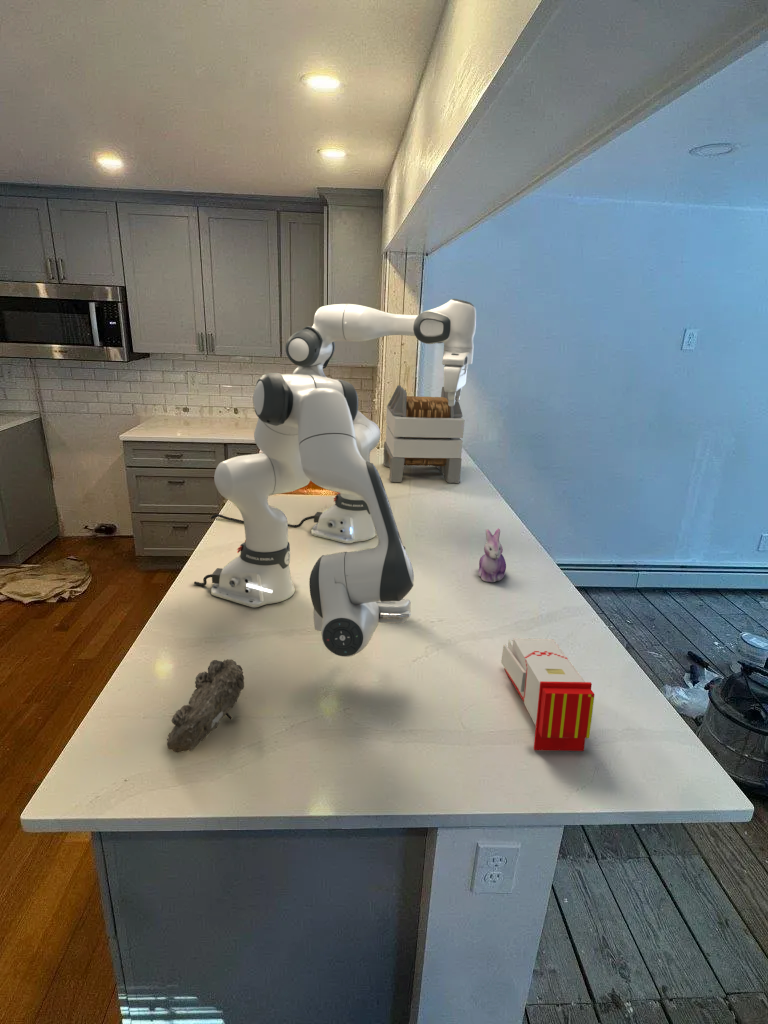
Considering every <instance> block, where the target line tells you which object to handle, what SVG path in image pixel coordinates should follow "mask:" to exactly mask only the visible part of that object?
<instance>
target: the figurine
mask: <svg viewBox="0 0 768 1024" xmlns="http://www.w3.org/2000/svg"><path fill="white" fill-rule="evenodd" d="M500 537H501V528H499V527H498V528H497V529H496V530H495V532H494V534H492V532H491V531H490V530H489V528H488V529H485V539H486V543H485V544H484V546H483V551H484V554H482V555H481V556H480V558H479V562H478V570H477V575H478V577H480V579H481V580H482V581H484V582H487V583H495V582H499V581H501V580H503V578H504V577H505V574H506V571H507V563H506V559H505V557H504V556H503V552H504V548H503V545H502V543H501V541H500Z"/></svg>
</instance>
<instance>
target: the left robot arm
mask: <svg viewBox="0 0 768 1024" xmlns="http://www.w3.org/2000/svg"><path fill="white" fill-rule="evenodd" d="M326 377H327V376H326ZM326 377H322V376H316V375H301V374H292V373H284V374H283V373H282V374H281V372H269V373H264V374H263V375H261V376H260V377H259V378H258V380H256V383H255V387H254V389H253V390H254V391H253V395H252V402H253V403H252V404H253V407H254V408H253V409H254V413H255V415H256V417H257V422H256V425H255V428H254V431H253V438H254V442H255V445H256V446H257V448H258V450H259V451H261V452H260V453H251V454H244V455H237V456H233V457H230V458H228V459H225V460H223V461H220V462H219V463H218V464H217V466H216V468H215V471H214V474H213V475H214V476H213V477H214V480H213V481H214V486H215V488H216V490H217V493H219V494H220V496H222V497H223V498H224V499H225V500H227V501H229V502H231V503H232V504H233V505H234V506H235V507H236V508H237V509H238V511H239V513H240V514H241V516H242V520H243V521H244V523H243V525H244V526H243V527H244V537H245V539H244V542H242V543H241V544H240V546H239V547H238V548H237V549H236V553H237V554H239V553H240V554H239V555H238V556H236V557H235V558H233V559H232V560H231V561H229V562H228V563H227V564H225V565H224V566H223V567H220V568H219V567H218V568H216V569H215V570H214V571H213V572H212V573H210V574H207V575H205V576H204V577H203V581H202V582H198V581H194V582H193V585H196V586H199V587H205V586H206V585H207V583H208V581H207V580H208V579H210V578H211V584H213V585H212V586H211V587H210V588H211V589H210V594H211V596H213V597H216V598H220V599H223V600H227V601H229V602H233V603H237V604H239V605H244V606H247V607H250V608H259V607H262V606H265V605H272V604H277V603H280V602H283V601H287V600H288V599H289V598H290V599H291V597H292V596H293V595H294V594H295V592H296V589H295V584H294V583H293V579H292V574H291V567H290V563H291V547H290V546H291V545H290V542H289V526H288V524H289V520H288V517H287V515H286V513H285V512H284V511H283V510H282V509H280V508H278V507H275V506H273V505H269V499H268V498H269V497H270V496H275V495H281V494H286V493H292V492H295V491H297V490H299V489H302V488H304V487H306V486H308V485H309V484H310V482H312V483H313V484H315V485H316V486H318V487H320V488H322V489H325V490H328V491H331V492H335V493H338V492H339V493H344V494H349V495H353V496H356V497H358V498H360V499H362V500H363V501H365V503H366V504H367V506H368V508H369V511H370V515H371V518H372V521H373V524H374V528H375V532H376V538H377V540H378V544H377V546H375V547H372V548H371V547H370V548H365V549H359V550H353V551H342V552H334V553H329V554H322V555H321V556H320V557H319V558H318V559H317V561H316V562H315V563H314V565H313V567H312V569H311V572H310V573H309V574H310V575H309V581H308V585H309V586H308V587H309V593H310V594H309V595H310V600H311V604H312V606H313V625H314V630H315V631H317V632H320V633H321V640H322V643H323V645H324V647H325V648H326V649H327V650H328V651H329V652H330V653H332V654H333V655H336V656H338V657H343V658H345V657H346V658H347V657H352V656H355V655H357V654H359V653H361V652H362V651H363V650H364V649H365V648H366V647H367V646H368V644H369V643H370V642H371V640H372V637H373V635H374V633H375V631H376V630H377V627H378V625H379V624H403V623H405V622H407V621H408V620H409V619H410V617H411V615H412V611H411V610H412V601H411V600H410V599H408V598H405V597H406V596H407V595H408V594H409V593H410V592H411V590H412V589H413V587H414V582H415V573H414V572H415V571H414V567H413V564H412V561H411V558H410V556H409V555H408V552H407V551H406V548H405V549H404V547H405V546H404V544H403V541H402V538H401V535H400V532H399V529H398V525H397V523H396V520H395V517H394V513H393V510H392V507H391V503H390V500H389V498H388V495H387V492H386V488H385V486H384V483H383V480H382V478H381V475H380V473H379V471H378V469H377V467H376V465H374V463H373V462H371V461H370V462H367V461H365V460H364V459H363V457H362V456H361V454H360V453H359V450H358V448H357V443H356V436H355V430H354V424H353V421H354V419H355V418H356V415H357V411H359V395H358V392H357V390H356V388H355V386H354V385H353V384H352V383H351V382H348V381H346V380H343V379H340V378H335V379H334V378H330V377H327V378H326ZM403 546H404V547H403Z"/></svg>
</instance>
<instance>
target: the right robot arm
mask: <svg viewBox="0 0 768 1024" xmlns="http://www.w3.org/2000/svg"><path fill="white" fill-rule="evenodd" d="M476 327H477V309H476V306H475V305H474V304H473V303H472V302H470V301H467V300H463V299H458V298H451V299H450V300H448V301H447V302H445V303H444V304H441V305H439V306H437V307H435V308H431V309H427V310H424V311H422V312H421V313H419V314H399V313H391V312H386V311H383V310H380V309H377V308H374V307H370V306H366V305H361V304H355V303H335V304H327V305H322V306H320V307H318V308H317V309H316V311H315V313H314V317H313V325H312V326H310V325H306V326H305V327H303V328H301V329H299V330H298V331H295V333H293V334H292V335H291V336H290V337H289V338H288V339H287V340H286V344H285V354H286V357H287V359H289V361H290V362H292V364H294V365H296V366H297V367H295V369H294V370H293V371H292V373H291V374H301V375H316V376H322V377H326V378H328V377H327V376H326V374H325V372H324V369H326V368H327V366H328V365H329V362H330V360H331V359H332V357H333V356H334V352H335V350H336V343H335V342H353V343H356V342H366V341H371V340H376V339H378V338H384V337H388V336H409V337H415V338H416V339H417V340H418V341H420V343H423V344H426V345H434V344H435V345H436V344H443V354H442V362H441V364H442V365H443V387H444V390H445V392H448V400H449V401H448V405H449V406H454V405H455V402H460V400H461V393H462V390H463V388H464V387H465V386H466V383H467V373H468V368H469V365H473V360H474V359H473V358H474V347H475V345H474V337H475V334H476ZM353 424H354V430H355V436H356V443H357V448H358V450H359V453H360V454H361V456H362V457H363V459H364V460H365V461H367V462H370V463H371V460H370V459H371V457H370V455H371V452H372V451H373V450H374V449H376V448H377V446H378V445H379V442H380V439H381V436H382V435H381V429H380V427H379V425H378V424H377V423H376V422H375V421H373V420H371V419H369V418H368V417H366V415H364V414H363V413H362V412H361V411H360V410H358V411H357V415H356V418H355V419H354V421H353ZM333 502H334V504H333V505H331V506H329V507H328V508H326V509H325V510H323V512H322V511H316V512H315V514H314V515H310V516H307V517H304V518H303V519H302V520H300V522H299V523H298V524H290V523H288V528H289V527H290V528H293V529H294V528H300V527H302V526H303V524H304V523H305V522H307V521H308V520H312V519H313V523H315V524H314V525H313V526H312V528H311V530H310V533H311V536H315V537H319V538H323V539H326V540H330V541H336V542H339V543H343V544H352V543H357V542H365V541H368V540H372V539H373V538H375V537H376V536H377V534H376V531H375V528H374V524H373V521H372V518H371V515H370V511H369V508H368V506H367V504H366V503H365V501H363V500H362V499H360V498H358V497H356V496H353V495H349V494H344V493H339V492H337V494H336V495H335V496H334V497H333ZM215 518H221V519H224V520H227V521H232V522H236V523H240V524H244V520H243V519H238V518H235V517H234V518H233V517H230V516H226V515H223V514H220V513H215V514H213V515H211V516H210V520H211V519H212V520H213V519H215Z"/></svg>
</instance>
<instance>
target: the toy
mask: <svg viewBox="0 0 768 1024" xmlns="http://www.w3.org/2000/svg"><path fill="white" fill-rule="evenodd" d="M500 661H501V662H500V663H501V664H502V666H503V668H504V671H505V673H506V674H507V676H508V678H509V679H510V681H511V684H512V685H513V686H514V688H515V691H517V693H518V695H519V696H520V699H521V700H522V702H523V704H524V706H525V708H526V711H527V712H528V714H529V716H530V718H531V720H532V723H533V724H534V726H535V731H534V741H533V750H534V751H554V752H555V751H556V752H557V751H558V752H564V751H565V752H584V751H585V743H586V739H590V737H591V736H590V735H591V727H592V718H593V710H594V702H595V692H593V690H592V685H593V684H592V682H590V681H585V679H584V678H583V676H582V675H581V674H580V673H579V672H578V670H577V669H576V668H575V666H574V665H573V663H572V662H571V661H570V659H569V658H568V657H567V655H566V654H565V653H564V651H563V650H562V649H561V648H560V646H559V644H558V643H557V642H556V640H554V638H517V637H515V638H512V639H508V643H507V644H503V647H502V653H501V660H500Z"/></svg>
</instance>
